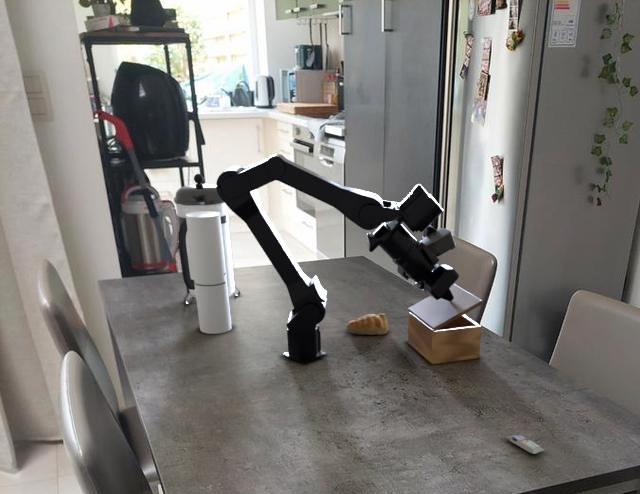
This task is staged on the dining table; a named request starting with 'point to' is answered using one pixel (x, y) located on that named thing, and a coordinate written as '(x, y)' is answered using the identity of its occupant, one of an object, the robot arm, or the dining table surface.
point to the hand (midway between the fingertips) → (451, 299)
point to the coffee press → (187, 202)
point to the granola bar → (525, 443)
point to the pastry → (368, 324)
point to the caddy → (445, 339)
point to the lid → (445, 308)
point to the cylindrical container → (209, 271)
